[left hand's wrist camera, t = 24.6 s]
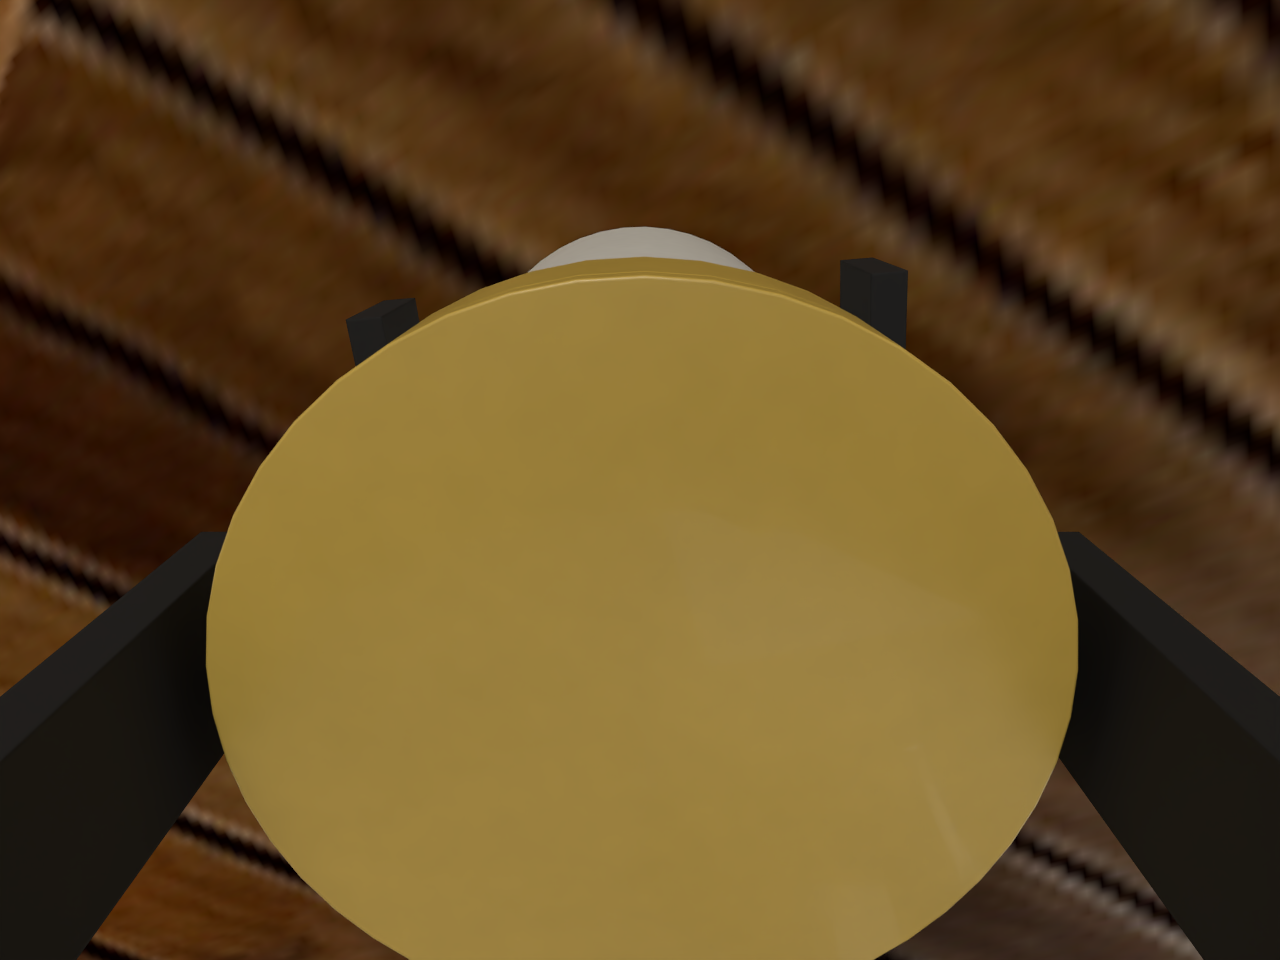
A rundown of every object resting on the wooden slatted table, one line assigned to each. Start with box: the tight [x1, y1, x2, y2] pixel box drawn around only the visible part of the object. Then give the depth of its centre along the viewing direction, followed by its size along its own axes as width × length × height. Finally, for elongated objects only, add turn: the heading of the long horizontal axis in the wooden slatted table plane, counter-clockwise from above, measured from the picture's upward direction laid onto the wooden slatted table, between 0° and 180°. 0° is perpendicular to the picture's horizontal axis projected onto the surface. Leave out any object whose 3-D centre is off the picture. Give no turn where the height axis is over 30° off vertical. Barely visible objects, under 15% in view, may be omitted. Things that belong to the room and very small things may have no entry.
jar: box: [528, 227, 754, 273], centre depth 19 cm, size 10×10×15 cm
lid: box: [206, 257, 1078, 960], centre depth 11 cm, size 11×11×2 cm
